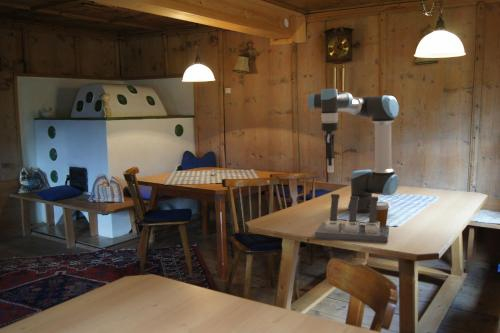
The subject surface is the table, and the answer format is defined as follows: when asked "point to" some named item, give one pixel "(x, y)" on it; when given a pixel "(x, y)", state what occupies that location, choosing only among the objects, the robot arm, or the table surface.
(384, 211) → the disposable coffee cup
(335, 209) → the handle
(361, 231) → the breaker panel
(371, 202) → the end handle
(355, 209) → the middle handle
